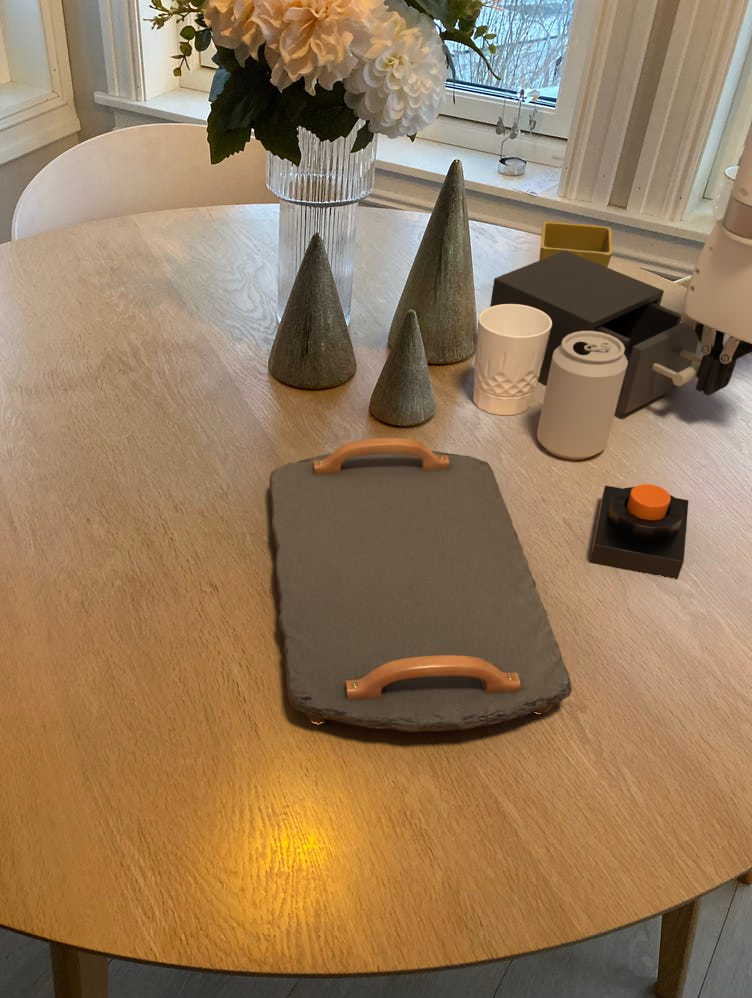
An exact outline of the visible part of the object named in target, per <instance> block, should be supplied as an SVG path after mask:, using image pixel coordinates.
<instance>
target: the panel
mask: <svg viewBox="0 0 752 998" xmlns="http://www.w3.org/2000/svg"><path fill="white" fill-rule="evenodd" d="M634 487H635V486H629V487H623V488H622V487H617V486H610V485H604V488H603V491H602V495H601V499H600V502H599V508H598V514H597V517H596V518H597V519H596V524H595V529H594V535H593V541H592V546H591V551H590V557H589V563H590V564H595V565H599V566H605V567H609V566H610V568H615V569H620V570H626V571H630V570H631V571H630V572H635V573H640V572H641V574H645V573H648V574H647V575H650V574H653V575H652V576H655V575H661V576H664V577H663V578H665V577H670V578H675V579H674V580H676V579H677V580H678V579H679V576H680V573H681V571H682V569H683V568H682V567H683V565H684V562H685V549H686V539H687V526H688V512H689V499H684V498H679V497H675V496H674V495H672V494H670V497H671V500H670V503H669V506H668V510H667V513H666V515H665V517H664V518H663V519H659V520H647V519H641V518H638V517H637V516H635V515H633V514H631V513H629V512H628V510H627V503H628V500H629V497H630V493H631V490H632V489H633V488H634ZM636 571H637V572H636ZM649 573H650V574H649ZM670 578H669V579H670Z"/></svg>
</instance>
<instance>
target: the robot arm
mask: <svg viewBox="0 0 752 998" xmlns="http://www.w3.org/2000/svg"><path fill="white" fill-rule="evenodd" d="M682 309H683V311H682V313H681V314H682V315H681V321H680V322H681V323H685V324H686V325H687V326H689V327H690V328H691V329H694V330H695V332H696V335H697V337H698V339H699V344H700V346H699V353H700V354H701V355H702V356H701V357H702V360H701V364H700V367H699V370H698V373H697V377H696V379H697V382H696V385H695V388H694V389H695V391H697V392H699V393H701V392H703V394H704V395H706V396H707V397H709V396H712V395H713V394H715V393H717V392H719V391H720V390H723V389H724V388H726V387H727V386H728V385H729V383H730V381H731V378H732V376H733V372H734V370H735V367H736V364H737V361H738V359H740V358H743V357H744V356H746V355H752V123H751V125H750V128H749V132H748V134H747V138H746V141H745V145H744V148H743V151H742V154H741V157H740V161H739V164H738V168H737V171H736V175H735V178H734V181H733V185H732V188H731V191H730V194H729V197H728V201H727V204H726V208H725V212H724V213H723V217H722V218H720V219H718V220H716V222H715V224H714V226H713V227H712V229H711V231H710V233H709V235H708V237H707V239H706V240H705V243H704V245H703V247H702V250H701V251H700V254H699V256H698V258H697V260H696V263H695V265H694V268H693V270H692V273H691V276H690V279H689V282H688V284H687V288H686V291H685V296H684V299H683V305H682ZM727 336H729V337H728V339H727Z"/></svg>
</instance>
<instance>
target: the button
mask: <svg viewBox="0 0 752 998" xmlns="http://www.w3.org/2000/svg"><path fill="white" fill-rule="evenodd" d="M633 487H634V488H633V489H632V490H631V493H630V497H629V500H628V503H627V510H628V512H629V513H631V514H633V515H635V516H637V517H638V518H641V519H647V520H659V519H663V518H664V517H665V515H666V513H667V510H668V506H669V503H670V500H671V497H670V495H671V494H670V493H669V491H668V490H666V489H664V488H662V487H661V486H658V485H655V484H648V483H643V484H639V485H636V486H633Z"/></svg>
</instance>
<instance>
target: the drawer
mask: <svg viewBox="0 0 752 998" xmlns="http://www.w3.org/2000/svg"><path fill="white" fill-rule="evenodd" d="M681 315H682V313H679V312H677V311H675V310H672V309H670V308H668V307H665V306H663V305H661V304H660V305H658V304H655V303H653V302H650V303H648V304H646V305H644V306H642V307H639V308H637V309H635V310H633V311H631V312H628V313H626V314H624V315H622V316H620V317H618V318H615V319H613V320H611V321H609V322H607V323H604V324H602V325H600V326H598V327H596V330H595V331H596V332H602V333H605V334H609V335H611V336H613V337H615V338H617V339H618V340H620V341H621V342H622V343H623V345H624V347H625V350H624V355H625V356H626V358H627V361H628V364H627V368H626V372H625V376H624V380H623V384H622V387H621V391H620V395H619V399H618V403H617V407H616V411H618V412H620V413H622V414H623V415H625V414H628V413H630V412H632V411H634V410H635V409H638V408H639V407H641V406H643V405H645V404H647V403H649V402H650V401H653V400H654V399H656V398H658V397H660V396H663V395H664V394H666V393H668V392H670V391H672V390H674V389H675V388H677V387H682V386H683V385H685V384H687V383H689V382H691V381H693V380H694V379H697V373H698V370H699V367H700V364H701V360H702V357H703V356H701V355H698V354H696V353H697V349H698V346H699V344H700V341H699V339H698V337H697V335H696V332H695V330H694V329H691V328H690V327H689V326H687V325H686V324H685V323H683V322H682V321H681ZM693 363H694V364H693Z"/></svg>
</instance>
